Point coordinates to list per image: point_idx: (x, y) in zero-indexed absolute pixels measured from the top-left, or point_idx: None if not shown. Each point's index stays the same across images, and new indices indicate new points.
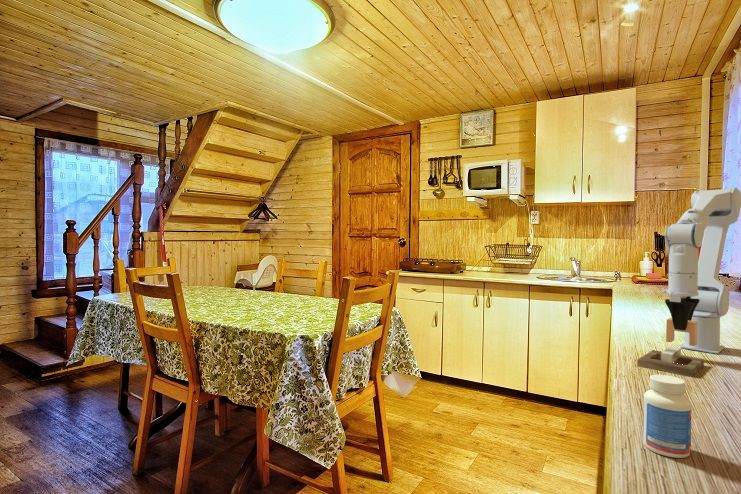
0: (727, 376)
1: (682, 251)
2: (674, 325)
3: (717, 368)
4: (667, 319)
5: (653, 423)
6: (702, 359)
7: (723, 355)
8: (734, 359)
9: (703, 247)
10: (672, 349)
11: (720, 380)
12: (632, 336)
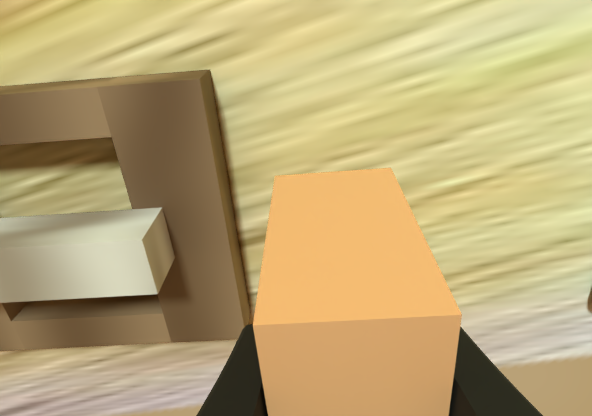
0: (147, 395)
1: None
2: (230, 358)
3: None
4: (271, 330)
5: None
6: (225, 336)
7: (588, 321)
8: (520, 363)
9: None
10: (62, 272)
11: (56, 391)
12: None
